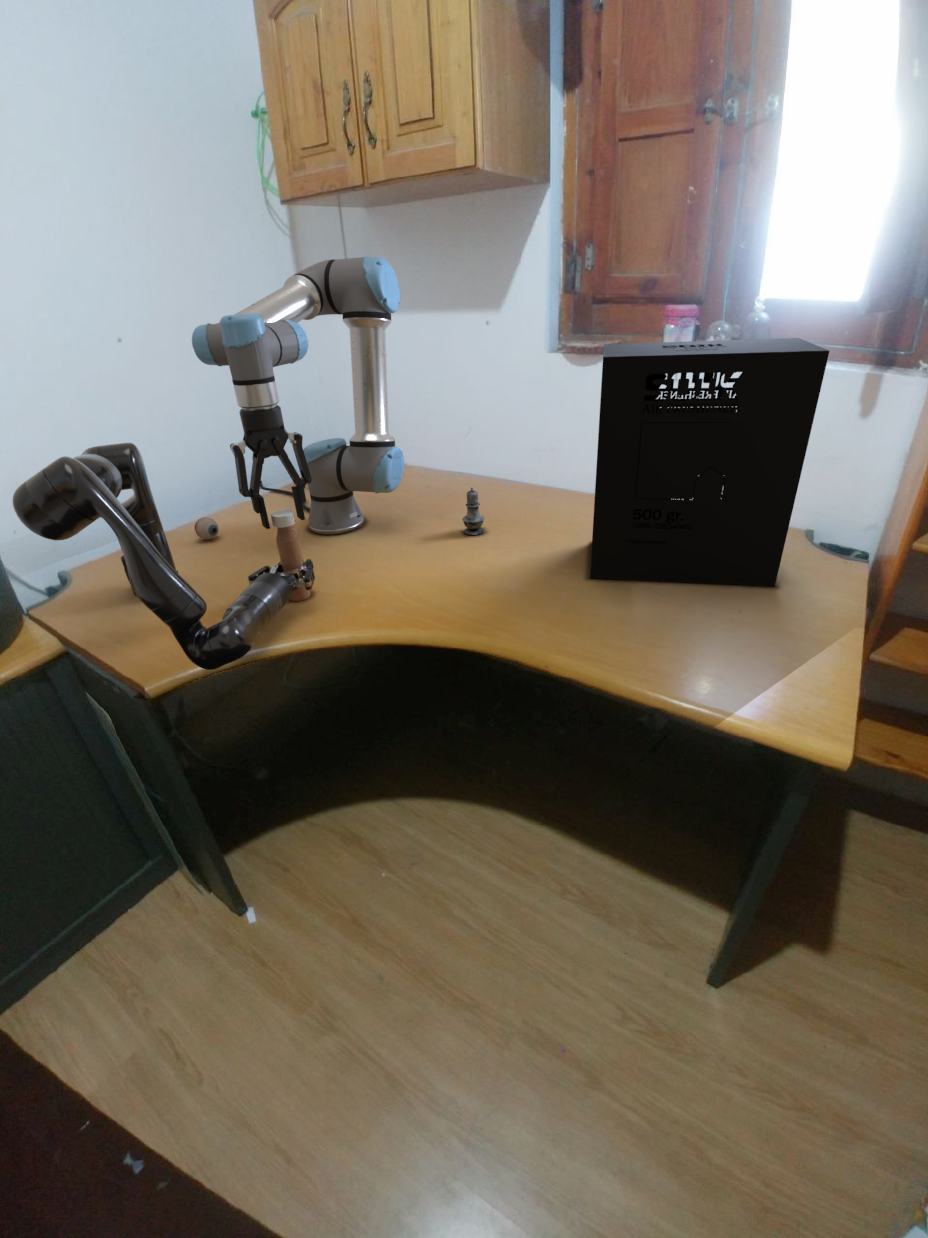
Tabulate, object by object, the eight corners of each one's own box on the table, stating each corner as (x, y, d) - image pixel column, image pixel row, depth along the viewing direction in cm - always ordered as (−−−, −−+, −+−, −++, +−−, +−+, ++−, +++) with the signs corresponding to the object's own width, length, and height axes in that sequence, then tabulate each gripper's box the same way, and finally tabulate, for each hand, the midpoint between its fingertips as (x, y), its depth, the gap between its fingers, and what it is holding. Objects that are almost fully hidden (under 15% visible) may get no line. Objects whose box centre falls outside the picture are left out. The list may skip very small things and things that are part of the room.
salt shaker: (482, 535, 157) (481, 491, 151) (460, 535, 158) (458, 490, 152) (486, 527, 162) (485, 483, 156) (465, 526, 163) (463, 483, 157)
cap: (270, 523, 125) (267, 512, 124) (291, 518, 127) (288, 507, 126) (277, 529, 122) (274, 518, 120) (298, 524, 124) (296, 513, 123)
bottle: (305, 601, 130) (288, 520, 121) (284, 600, 131) (266, 519, 122) (314, 591, 134) (298, 511, 125) (294, 590, 135) (277, 511, 126)
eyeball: (208, 544, 161) (202, 523, 158) (193, 540, 164) (187, 519, 161) (226, 536, 166) (220, 516, 163) (211, 533, 169) (205, 512, 166)
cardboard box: (755, 547, 142) (798, 337, 120) (774, 586, 125) (829, 350, 102) (592, 542, 150) (603, 344, 127) (589, 578, 133) (603, 356, 110)
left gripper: (294, 583, 114) (326, 547, 129) (224, 581, 117) (264, 546, 131) (301, 617, 118) (332, 579, 132) (234, 614, 120) (272, 577, 135)
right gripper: (302, 396, 120) (321, 506, 131) (200, 411, 111) (231, 529, 122) (316, 401, 114) (335, 516, 126) (210, 417, 105) (241, 540, 117)
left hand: (298, 562), depth 132 cm, fingers closed on bottle, 4 cm apart
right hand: (284, 522), depth 124 cm, fingers open, 7 cm apart
